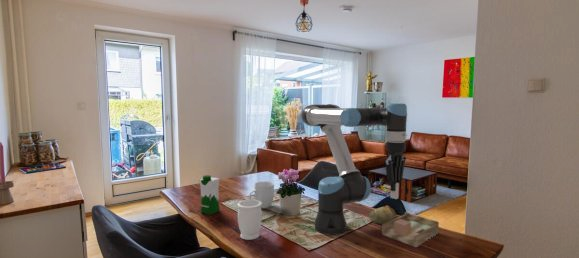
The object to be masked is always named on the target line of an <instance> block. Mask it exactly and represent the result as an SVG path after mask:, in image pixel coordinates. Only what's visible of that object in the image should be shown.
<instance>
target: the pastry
mask: <svg viewBox="0 0 579 258" xmlns="http://www.w3.org/2000/svg"><path fill="white" fill-rule="evenodd" d="M398 217H399V216H397V214H396V211H395V209H394V208H392V207H391V206H390V205H387V204H386V205H385V206H381V207H377V208H374V209H373V210H371V211H370V212H369V219H370V221H372V222H373V223H374V224H377V225H381V226H382V225H383V224H385V223H387V222H389V221H391V220H394V219H396V218H398Z"/></svg>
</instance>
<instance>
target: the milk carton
mask: <svg viewBox="0 0 579 258" xmlns="http://www.w3.org/2000/svg"><path fill="white" fill-rule="evenodd" d="M220 179H221V178H218V177H212V175H203V176H202V178H201V179H200V180H198V182H199V186H200V213H201V214H205V215H210V216H213V215H214V214H215V213H218V212H219V211H220V203H219V202H220V201H219V200H220V199H219V184H220Z"/></svg>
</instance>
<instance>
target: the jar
mask: <svg viewBox="0 0 579 258" xmlns="http://www.w3.org/2000/svg"><path fill="white" fill-rule="evenodd" d="M261 205H262V203H261V202H260V201H258V200H255V199H251V200H249V199H245V200H240V201H239V202H237V205H236V206H237V208H238V210H237V223H238V229H239V231H240V238H241V239H243V240H246V241H247V240H248V241H249V240H250V241H251V240H255V239H258V238H259V237H260V234H261V233H260V230H261V227H262V220H263V213H262V212H263V211H262V208H261Z"/></svg>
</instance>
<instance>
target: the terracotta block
mask: <svg viewBox="0 0 579 258" xmlns="http://www.w3.org/2000/svg"><path fill="white" fill-rule="evenodd" d="M394 233H396V234H399V235H401V236H404V237H405V236H407V235H408V234H410V233H411V222H409V221H406V220H402V219H399V220H397V221H395V222H394Z"/></svg>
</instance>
